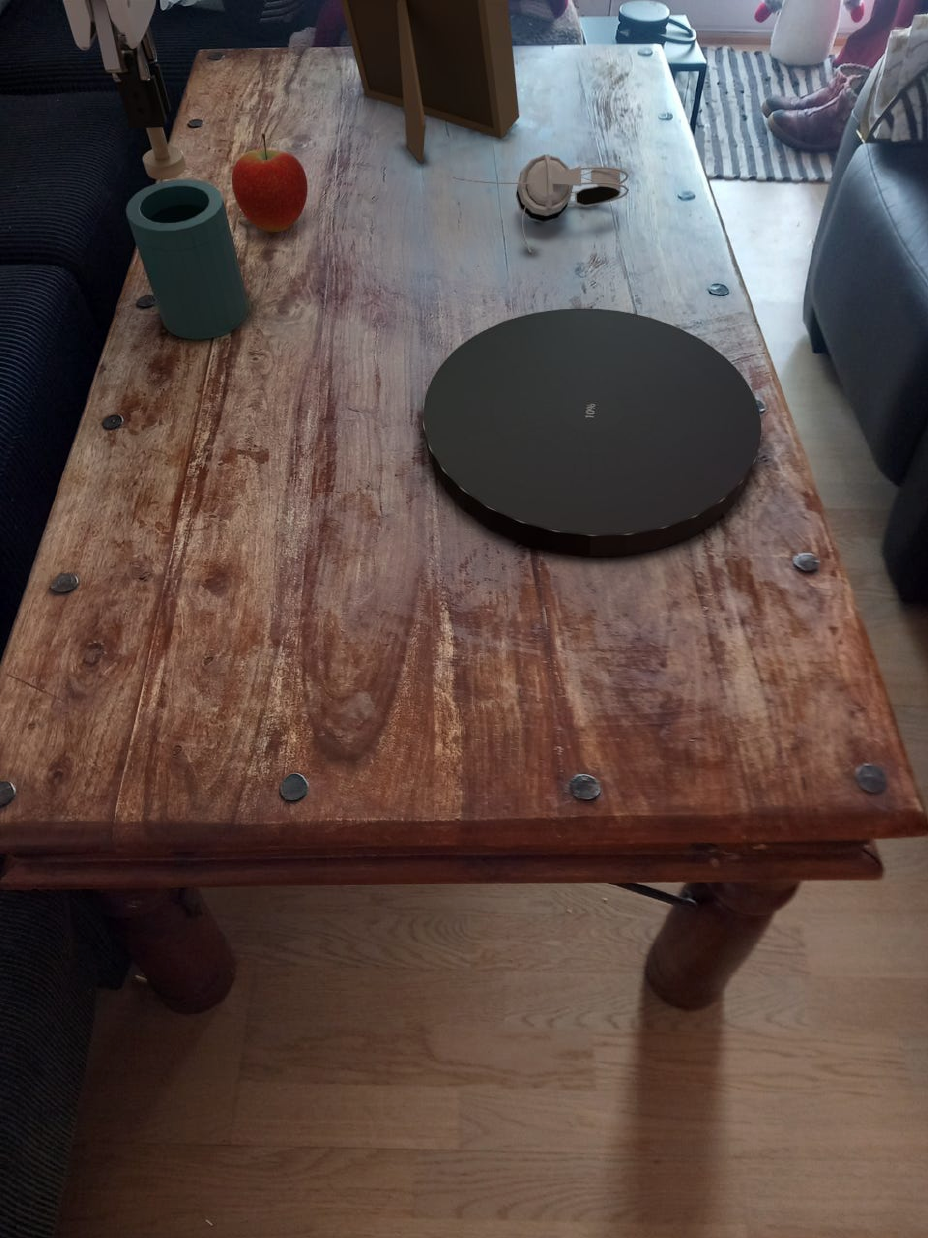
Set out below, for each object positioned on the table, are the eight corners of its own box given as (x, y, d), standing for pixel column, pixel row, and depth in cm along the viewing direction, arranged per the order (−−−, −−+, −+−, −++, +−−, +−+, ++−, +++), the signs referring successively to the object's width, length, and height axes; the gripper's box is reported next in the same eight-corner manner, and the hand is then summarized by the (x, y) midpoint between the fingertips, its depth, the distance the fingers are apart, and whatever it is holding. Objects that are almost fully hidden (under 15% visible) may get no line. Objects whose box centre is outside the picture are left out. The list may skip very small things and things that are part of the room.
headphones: (445, 206, 107) (614, 199, 108) (453, 257, 101) (632, 249, 102) (445, 135, 100) (626, 128, 101) (454, 186, 94) (645, 178, 96)
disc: (429, 333, 94) (427, 307, 91) (724, 329, 93) (731, 304, 91) (419, 560, 76) (417, 536, 74) (783, 557, 75) (793, 533, 73)
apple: (231, 241, 104) (210, 153, 96) (257, 203, 109) (239, 115, 100) (298, 249, 103) (282, 161, 95) (321, 210, 107) (308, 123, 99)
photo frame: (383, 83, 126) (364, -147, 106) (519, 124, 118) (526, -115, 98) (315, 129, 119) (281, -109, 98) (455, 176, 111) (448, -70, 91)
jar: (155, 341, 94) (117, 232, 84) (169, 288, 99) (135, 179, 89) (243, 338, 94) (215, 229, 84) (253, 285, 99) (228, 177, 89)
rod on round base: (143, 180, 83) (106, 60, 75) (150, 159, 85) (114, 41, 77) (183, 178, 83) (150, 59, 75) (189, 158, 85) (157, 39, 77)
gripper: (48, -177, 70) (125, 79, 85) (-8, -105, 61) (89, 168, 76) (146, -180, 70) (206, 76, 85) (105, -109, 61) (180, 165, 76)
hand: (150, 118), depth 80 cm, fingers closed on rod on round base, 1 cm apart
